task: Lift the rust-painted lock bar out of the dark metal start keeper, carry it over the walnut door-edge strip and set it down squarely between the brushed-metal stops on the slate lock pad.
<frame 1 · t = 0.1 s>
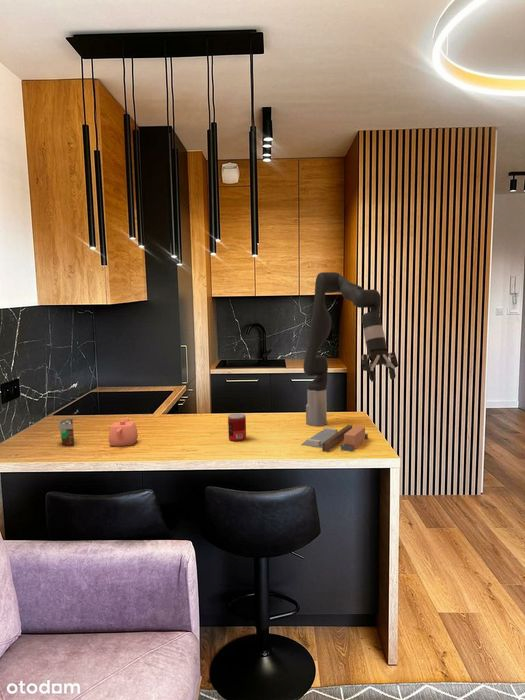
hand: (383, 380, 194), 31 cm above the worktop, tool tilted 20°, fingers open, 8 cm apart
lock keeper: (322, 439, 226), on the worktop
lock bar: (354, 444, 219), on the worktop
canned food: (237, 439, 229), on the worktop
teapot: (124, 443, 228), on the worktop
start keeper: (354, 443, 219), on the worktop
food container: (66, 443, 229), on the worktop
door edge: (338, 441, 222), on the worktop
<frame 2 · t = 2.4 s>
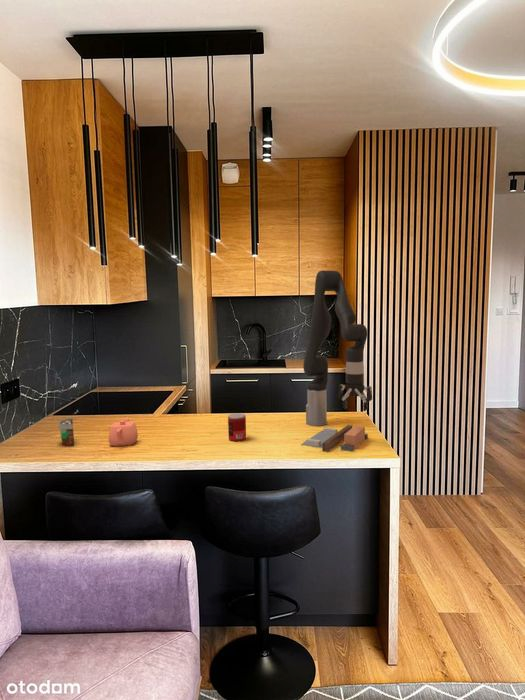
hand: (355, 409, 217), 15 cm above the worktop, tool pointing down, fingers open, 8 cm apart
nothing on the worktop moved.
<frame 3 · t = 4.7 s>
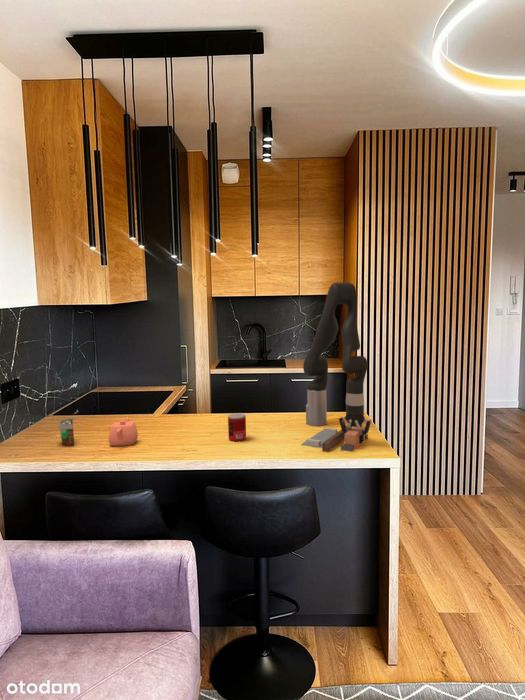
hand: (355, 442, 218), 1 cm above the worktop, tool pointing down, fingers closed on lock bar, 4 cm apart
lock bar: (355, 443, 219), on the worktop, touching gripper
everything else where it was.
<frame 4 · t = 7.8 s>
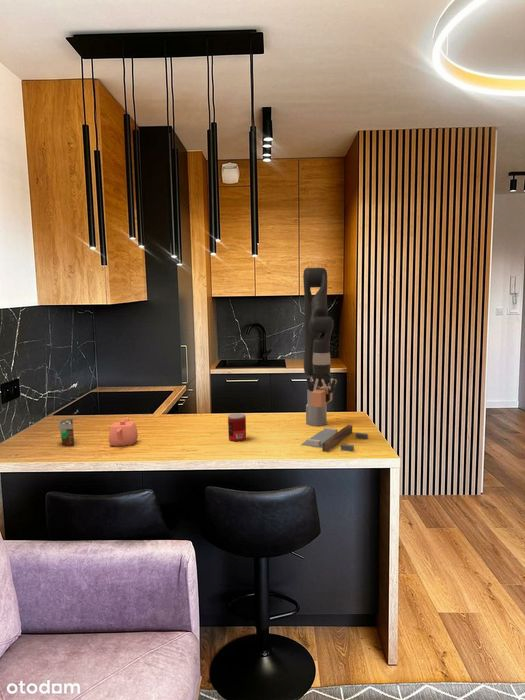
hand: (321, 401, 224), 17 cm above the worktop, tool pointing down, fingers closed on lock bar, 4 cm apart
lock bar: (321, 403, 224), point 16 cm above the worktop, touching gripper
everything else where it was.
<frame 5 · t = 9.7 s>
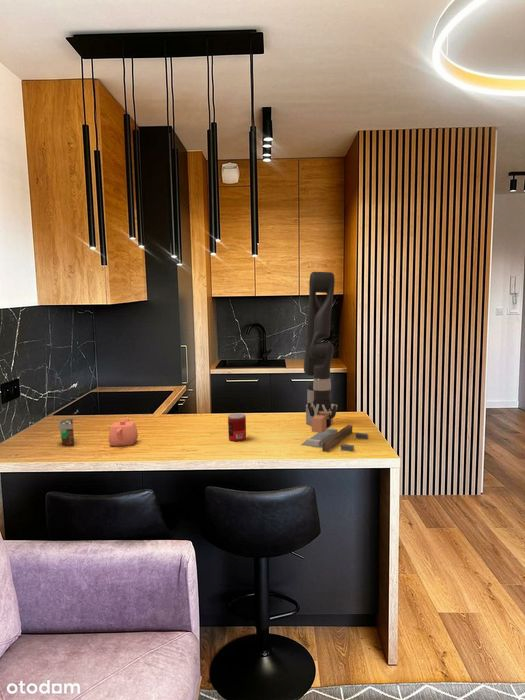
hand: (322, 426, 225), 6 cm above the worktop, tool pointing down, fingers closed on lock bar, 4 cm apart
lock bar: (322, 428, 225), point 5 cm above the worktop, touching gripper
everything else where it was.
when the fingers open (3 cm above the worktop, at t = 11.3 s): lock bar drops 1 cm, resting on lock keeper.
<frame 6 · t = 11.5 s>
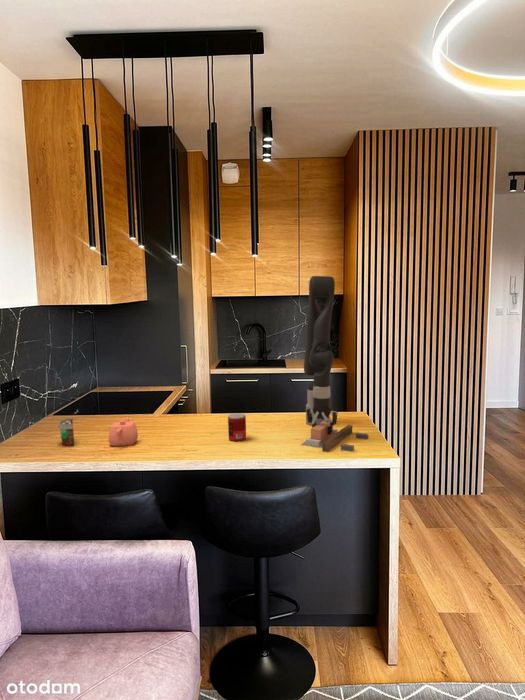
hand: (322, 433, 226), 3 cm above the worktop, tool pointing down, fingers open, 6 cm apart
lock bar: (322, 438, 226), resting on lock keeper
everything else where it was.
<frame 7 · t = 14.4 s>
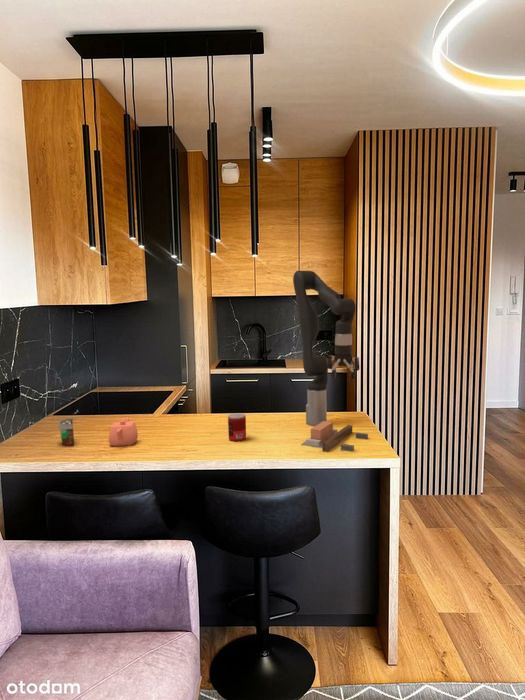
hand: (343, 379, 231), 25 cm above the worktop, tool pointing down, fingers open, 8 cm apart
nothing on the worktop moved.
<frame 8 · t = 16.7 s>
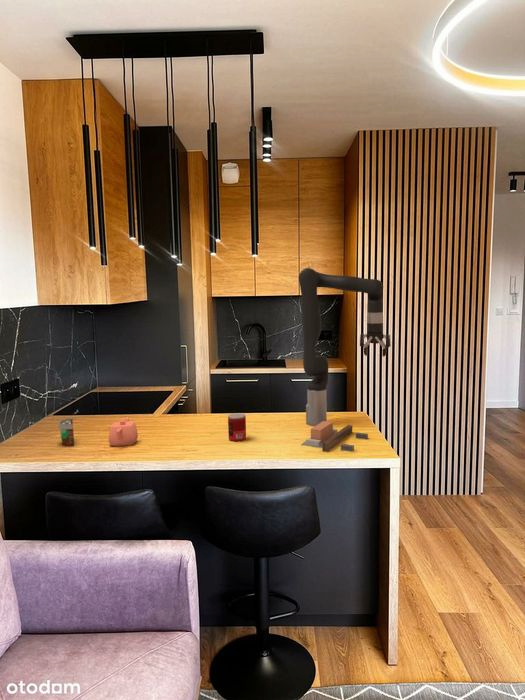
hand: (374, 355, 245), 33 cm above the worktop, tool pointing down, fingers open, 8 cm apart
nothing on the worktop moved.
at the end: lock bar 0.1 cm off-centre on the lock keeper, point 0.3 cm above the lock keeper's base; lock bar tilted 0°; the gripper is holding nothing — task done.
